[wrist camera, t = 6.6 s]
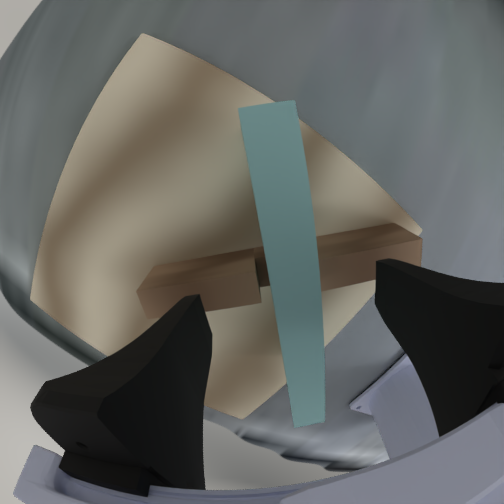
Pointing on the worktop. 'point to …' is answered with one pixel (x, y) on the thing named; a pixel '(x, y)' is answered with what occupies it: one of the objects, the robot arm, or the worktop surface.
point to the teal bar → (289, 249)
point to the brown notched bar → (256, 274)
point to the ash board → (185, 215)
